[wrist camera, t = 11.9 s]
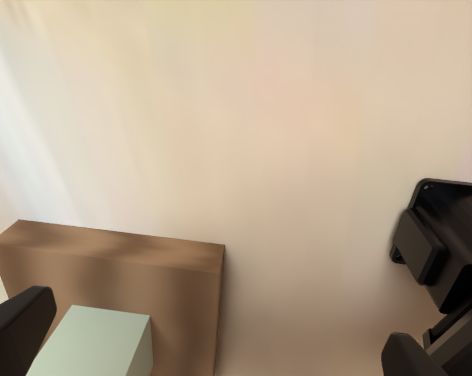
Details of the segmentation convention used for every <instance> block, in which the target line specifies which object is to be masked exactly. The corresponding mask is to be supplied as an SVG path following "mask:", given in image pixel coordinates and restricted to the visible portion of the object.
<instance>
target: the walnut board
mask: <svg viewBox="0 0 472 376" xmlns="http://www.w3.org/2000/svg"><path fill="white" fill-rule="evenodd" d="M223 258H224V245H220V244H212V243H204V242H196V241H188V240H180V239H172V238H164V237H156V236H147V235H139V234H131V233H123V232H115V231H107V230H99V229H91V228H83V227H75V226H66V225H58V224H50V223H42V222H34V221H26V220H18V221H17V222H15V223H14V224H13V225H12V226H10V227H9V228H8V229H7V230H5V231H4V232H3V233H2V234H0V276H1V279H2V282H3V284H4V287H5V290H6V292H7V295H8V298H9V299H10V298H12V297H14V296H15V295H17V294H19V293H21V292H22V291H24V290H26V289H27V288H29V287H31V286H33V285H43V286H49V287H51V288H52V290H53V294H54V298H55V301H56V305H57V313H56V316H55V318H54V320H53V322H52V324H51V326H50V328H49V330H48V332H47V335H46V337H45V339H44V341H43V343H42V345H41V347H40V349H39V351H38V353H39V352H40V350H41V349H42V348H43V346H44V345H45V343H46V342H47V340H48V339H49V337H50V336H51V335H52V333H53V332H54V330H55V329H56V327H57V326H58V325H59V323H60V322H61V320H62V319H63V317H64V316H65V314H66V313H67V312H68V310H69V309H70V307H71V306H72V305H77V306H84V307H92V308H99V309H106V310H113V311H121V312H128V313H135V314H143V315H150V324H151V338H152V351H153V367H152V370H151V373H150V376H214V374H215V363H216V350H217V337H218V324H219V310H220V297H221V284H222V271H223ZM38 353H37V355H38ZM37 355H36V356H37ZM35 358H36V357H35Z"/></svg>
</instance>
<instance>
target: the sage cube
mask: <svg viewBox="0 0 472 376" xmlns="http://www.w3.org/2000/svg"><path fill="white" fill-rule="evenodd" d="M152 367H153V351H152V338H151V324H150V315H143V314H135V313H128V312H121V311H113V310H106V309H99V308H92V307H84V306H77V305H72V306H71V307H70V309H69V310H68V312H67V313H66V314H65V316H64V317H63V319H62V320H61V322H60V323H59V325H58V326H57V327H56V329H55V330H54V332H53V333H52V335H51V336H50V337H49V339H48V340H47V342H46V343H45V345H44V346H43V348H42V349H41V350H40V352H39V353H38V355H37V356H36V358H35V359H34V361H33V363H32V365H31V367H30V369H29V371H28V373H27V374H26V376H150V373H151V370H152Z"/></svg>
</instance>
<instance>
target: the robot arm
mask: <svg viewBox="0 0 472 376" xmlns="http://www.w3.org/2000/svg"><path fill="white" fill-rule="evenodd" d="M427 185H430V187H429V188H427V189H424V188H425V186H427ZM394 242H395V243H394V245H393V248H392V250H391V253H390V257H391V259H392V261H393V262H395V263H399V264H407V266H408V267H409V269H410V271H411V273H412V275H413V276H414V278H415V280H416V281H417V283H418V284H419V285H423V286H425V287H426V289H427V291H428V292H429V294H430V296H431V298H432V299H433V301H434V303H435V304H436V306H437V308H438V310H439V311H440V313H443V314H447V315H446V316H445V317H444V318H443V319H442V320H441V321H440V322H439V323H438V324H437V325H435V326H434V327H433V328H432V329H428V330H427V331H426V332H425V333H424V334H423V343H424V349H423V348H422V347H421V346H420V345H419V344H418V343H417V342H416V341H415V340H414V339H413V338H412V337H411V336H410V335H408V334H404V333H397V332H393V333H391V334H390V336H389V338H388V340H387V342H386V344H385V346H384V348H383V351H382V354H381V361H382V367H383V373H384V376H472V183H468V182H459V181H450V180H440V179H431V178H425V179H423V180H421V181H420V182H419V183H418V185H417V187H416V190H415V192H414V195H413V197H412V200H411V202H410V205H409V207H408V208H407V209H406V210H405V212H404V214H403V217H402V219H401V222H400V224H399V227H398V229H397V232H396V234H395V237H394ZM398 255H400V256H399V257H396V256H398ZM56 313H57V305H56V301H55V298H54V294H53V290H52V288H51V287H49V286H43V285H33V286H31V287H29V288H27V289H26V290H24V291H22V292H21V293H19V294H17V295H15V296H14V297H12V298H10V299H8V300H7V301H5V302H3V303H1V304H0V376H26V374H27V373H28V371H29V369H30V367H31V365H32V363H33V361H34V359H35V357H36V355H37V353H38V351H39V349H40V347H41V345H42V343H43V341H44V339H45V337H46V335H47V332H48V330H49V328H50V326H51V324H52V322H53V320H54V318H55V316H56Z"/></svg>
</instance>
